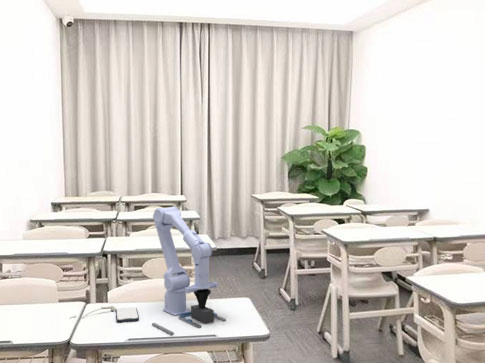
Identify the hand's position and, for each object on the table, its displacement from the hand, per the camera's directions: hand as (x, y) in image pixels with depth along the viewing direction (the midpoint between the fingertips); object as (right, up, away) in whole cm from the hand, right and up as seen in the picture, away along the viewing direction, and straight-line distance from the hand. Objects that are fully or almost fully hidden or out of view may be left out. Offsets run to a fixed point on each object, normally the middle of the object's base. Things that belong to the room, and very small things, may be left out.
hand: (202, 307), depth 197 cm
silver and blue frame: (-5, -5, -4) cm, 8 cm away
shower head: (-45, -5, +7) cm, 46 cm away
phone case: (-31, -5, +5) cm, 32 cm away
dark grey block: (0, -5, 0) cm, 5 cm away
